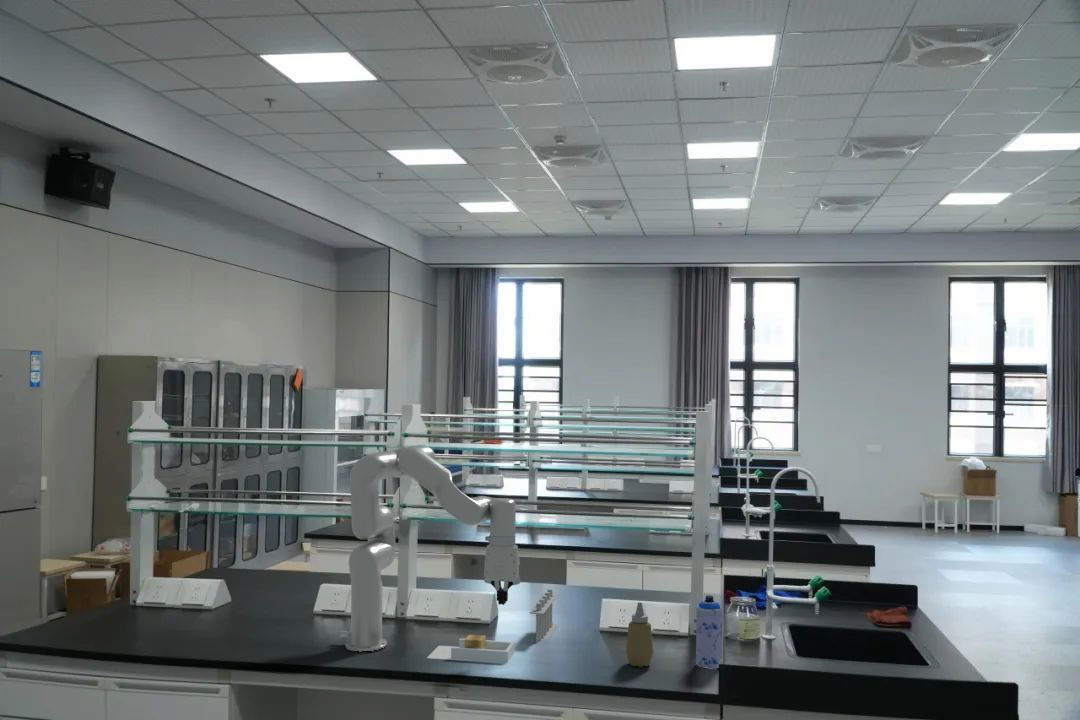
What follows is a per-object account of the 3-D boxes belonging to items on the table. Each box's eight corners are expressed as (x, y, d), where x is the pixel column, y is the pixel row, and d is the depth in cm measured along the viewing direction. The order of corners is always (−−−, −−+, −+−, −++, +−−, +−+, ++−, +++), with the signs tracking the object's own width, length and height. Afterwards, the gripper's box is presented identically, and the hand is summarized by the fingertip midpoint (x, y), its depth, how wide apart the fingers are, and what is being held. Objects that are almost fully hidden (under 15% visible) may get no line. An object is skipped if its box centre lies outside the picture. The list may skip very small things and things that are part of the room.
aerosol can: (719, 660, 260) (719, 593, 261) (725, 669, 253) (726, 599, 253) (692, 660, 260) (693, 592, 260) (698, 669, 252) (698, 599, 253)
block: (464, 656, 257) (464, 639, 257) (469, 651, 262) (469, 634, 262) (481, 657, 256) (481, 640, 256) (485, 652, 261) (485, 635, 261)
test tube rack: (545, 625, 295) (545, 586, 296) (558, 626, 294) (558, 587, 295) (529, 648, 271) (529, 605, 271) (543, 649, 270) (543, 606, 270)
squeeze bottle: (650, 660, 260) (651, 599, 261) (655, 669, 252) (656, 606, 252) (623, 660, 260) (624, 599, 260) (627, 669, 252) (628, 606, 252)
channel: (426, 663, 256) (426, 647, 256) (438, 650, 267) (439, 635, 268) (506, 669, 251) (506, 653, 251) (515, 655, 263) (515, 640, 263)
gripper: (474, 542, 256) (474, 605, 256) (524, 544, 253) (524, 608, 253) (481, 537, 263) (480, 599, 263) (530, 539, 261) (529, 601, 260)
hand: (502, 603), depth 258 cm, fingers closed
